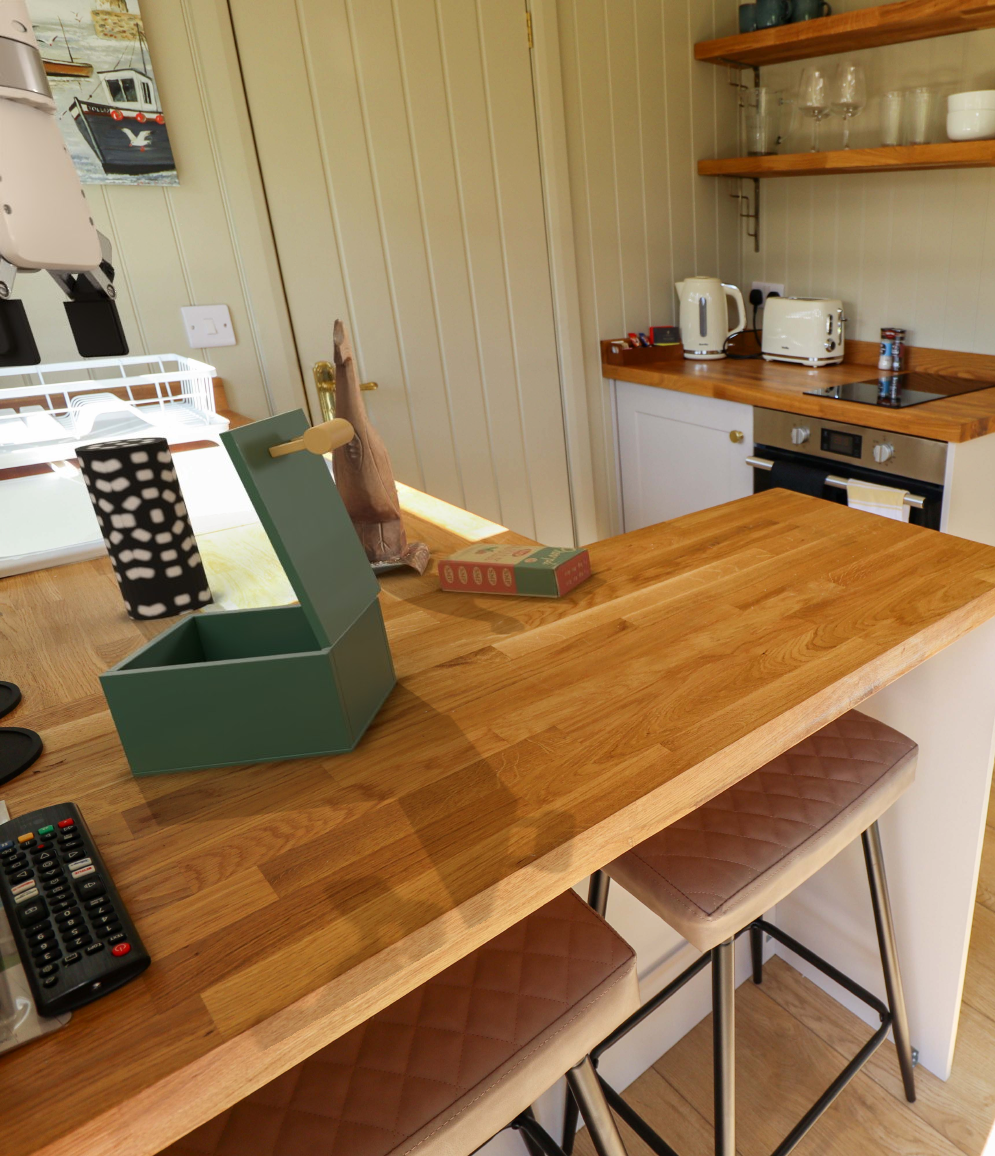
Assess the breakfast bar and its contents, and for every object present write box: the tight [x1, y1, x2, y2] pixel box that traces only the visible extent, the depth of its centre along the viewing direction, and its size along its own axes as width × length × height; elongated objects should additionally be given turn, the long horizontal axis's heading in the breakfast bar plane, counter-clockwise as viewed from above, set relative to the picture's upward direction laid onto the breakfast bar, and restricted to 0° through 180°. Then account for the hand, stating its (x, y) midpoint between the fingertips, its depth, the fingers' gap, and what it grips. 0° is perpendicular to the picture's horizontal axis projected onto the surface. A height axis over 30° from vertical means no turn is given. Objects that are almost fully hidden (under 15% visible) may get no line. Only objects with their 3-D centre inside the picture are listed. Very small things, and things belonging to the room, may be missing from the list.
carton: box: [437, 542, 592, 599], centre depth 100 cm, size 8×16×4 cm, turn 74°
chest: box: [98, 596, 398, 778], centre depth 67 cm, size 16×13×9 cm
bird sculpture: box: [331, 318, 431, 576], centre depth 103 cm, size 11×12×32 cm
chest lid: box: [218, 407, 382, 649], centre depth 64 cm, size 16×13×5 cm
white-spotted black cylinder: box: [74, 436, 214, 621], centre depth 95 cm, size 8×8×20 cm
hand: (62, 360), depth 57 cm, fingers open, 9 cm apart
